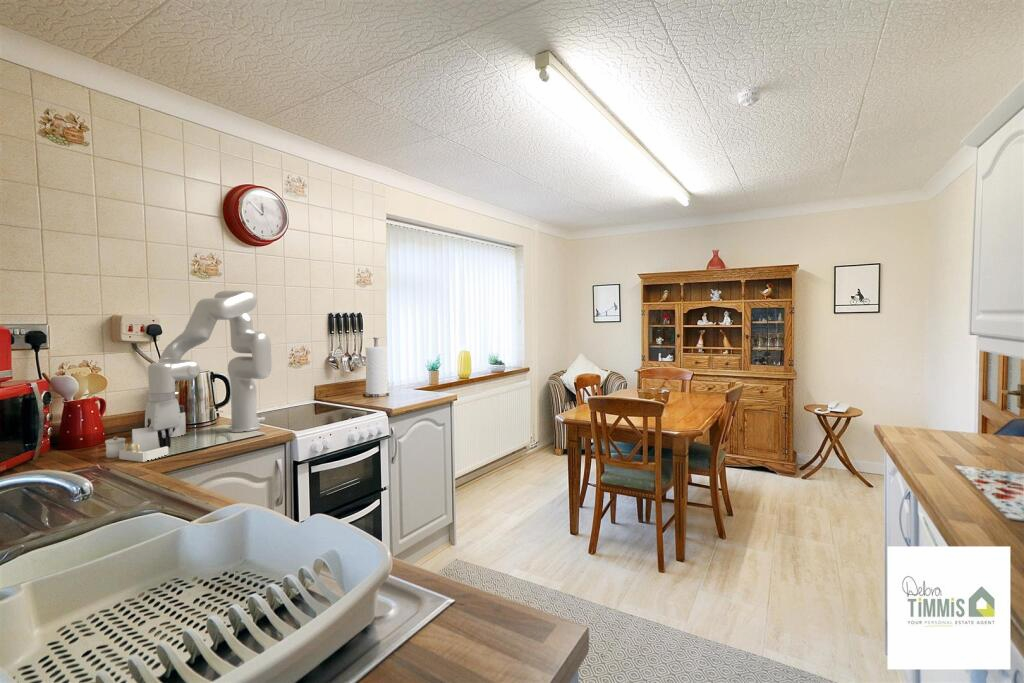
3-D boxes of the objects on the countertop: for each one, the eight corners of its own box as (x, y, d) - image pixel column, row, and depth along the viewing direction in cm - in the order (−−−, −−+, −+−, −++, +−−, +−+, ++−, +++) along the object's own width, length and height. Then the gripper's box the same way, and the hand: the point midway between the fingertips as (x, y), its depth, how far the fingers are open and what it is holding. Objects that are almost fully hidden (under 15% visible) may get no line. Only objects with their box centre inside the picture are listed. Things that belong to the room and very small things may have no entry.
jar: (171, 433, 196) (170, 404, 195) (190, 433, 195) (189, 404, 195) (153, 438, 187) (153, 408, 186) (173, 438, 187) (172, 408, 186)
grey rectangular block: (158, 455, 163) (157, 427, 163) (133, 459, 158) (133, 430, 158) (156, 453, 166) (155, 425, 165) (132, 457, 161) (131, 428, 160)
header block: (145, 452, 167) (145, 437, 167) (168, 455, 164) (168, 439, 164) (119, 459, 159) (118, 443, 159) (143, 462, 156) (142, 445, 155)
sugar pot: (118, 453, 166) (118, 434, 166) (129, 454, 165) (129, 435, 164) (101, 457, 161) (101, 437, 161) (112, 458, 159) (112, 438, 159)
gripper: (175, 393, 175) (177, 441, 176) (132, 400, 161) (135, 452, 162) (190, 394, 173) (192, 442, 174) (149, 401, 159) (151, 454, 160)
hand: (165, 447), depth 168 cm, fingers closed
